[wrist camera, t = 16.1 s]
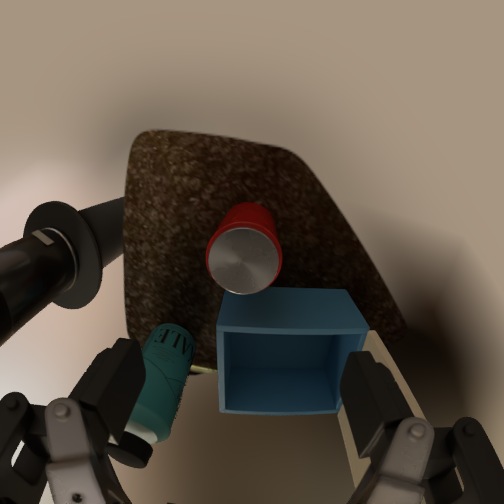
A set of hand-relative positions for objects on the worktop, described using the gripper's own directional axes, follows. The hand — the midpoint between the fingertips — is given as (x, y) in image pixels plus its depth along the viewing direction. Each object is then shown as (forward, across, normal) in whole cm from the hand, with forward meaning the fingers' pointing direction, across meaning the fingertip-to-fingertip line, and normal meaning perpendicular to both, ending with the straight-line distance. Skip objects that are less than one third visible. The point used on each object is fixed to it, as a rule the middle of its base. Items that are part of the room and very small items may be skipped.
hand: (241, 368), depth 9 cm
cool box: (+21, -4, +13) cm, 25 cm away
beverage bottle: (+22, +10, +15) cm, 28 cm away
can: (+21, 0, 0) cm, 21 cm away
